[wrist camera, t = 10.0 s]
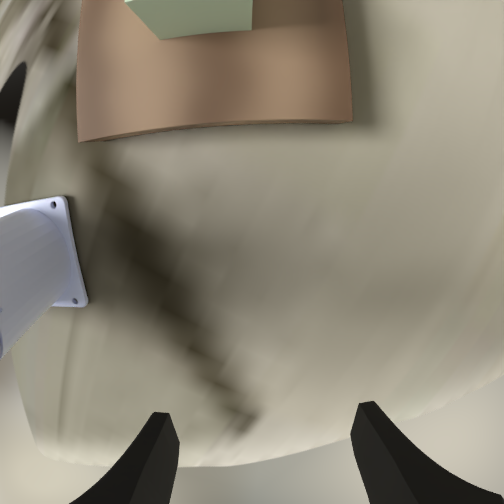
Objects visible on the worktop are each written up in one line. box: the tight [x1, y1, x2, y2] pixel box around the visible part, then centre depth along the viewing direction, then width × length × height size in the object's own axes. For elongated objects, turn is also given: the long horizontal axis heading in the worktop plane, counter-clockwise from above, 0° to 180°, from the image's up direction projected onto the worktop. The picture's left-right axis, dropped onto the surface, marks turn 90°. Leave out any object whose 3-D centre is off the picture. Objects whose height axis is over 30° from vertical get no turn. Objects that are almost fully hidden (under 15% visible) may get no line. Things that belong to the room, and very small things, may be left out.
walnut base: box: [76, 0, 353, 142], centre depth 13 cm, size 14×14×3 cm
